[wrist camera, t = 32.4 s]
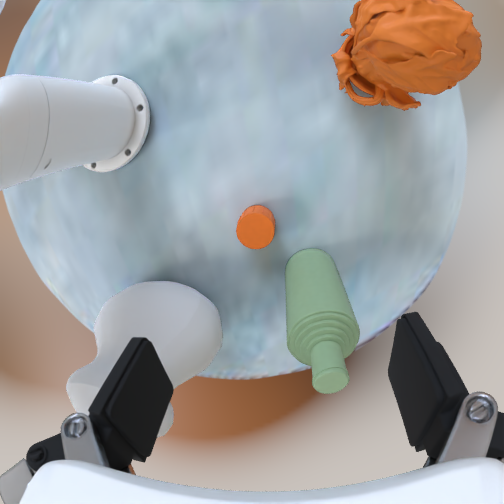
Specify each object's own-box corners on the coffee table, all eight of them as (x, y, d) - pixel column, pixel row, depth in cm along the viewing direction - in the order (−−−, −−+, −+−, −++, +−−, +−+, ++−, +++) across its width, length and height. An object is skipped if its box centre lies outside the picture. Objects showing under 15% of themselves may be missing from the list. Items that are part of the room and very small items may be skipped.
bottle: (288, 297, 36) (292, 412, 20) (281, 252, 34) (281, 359, 18) (336, 289, 35) (369, 400, 19) (333, 244, 33) (376, 344, 17)
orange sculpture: (424, 103, 25) (531, 95, 8) (346, 124, 27) (426, 114, 11) (388, 22, 21) (464, -42, 5) (307, 37, 24) (335, -52, 7)
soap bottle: (228, 268, 36) (146, 514, 9) (232, 339, 40) (188, 538, 13) (113, 264, 37) (-25, 416, 10) (130, 328, 41) (41, 479, 15)
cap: (280, 230, 33) (280, 241, 30) (248, 242, 34) (245, 254, 31) (266, 199, 32) (265, 207, 29) (234, 213, 33) (230, 221, 29)
